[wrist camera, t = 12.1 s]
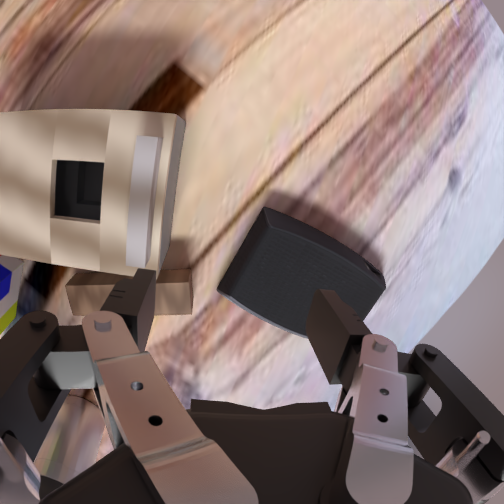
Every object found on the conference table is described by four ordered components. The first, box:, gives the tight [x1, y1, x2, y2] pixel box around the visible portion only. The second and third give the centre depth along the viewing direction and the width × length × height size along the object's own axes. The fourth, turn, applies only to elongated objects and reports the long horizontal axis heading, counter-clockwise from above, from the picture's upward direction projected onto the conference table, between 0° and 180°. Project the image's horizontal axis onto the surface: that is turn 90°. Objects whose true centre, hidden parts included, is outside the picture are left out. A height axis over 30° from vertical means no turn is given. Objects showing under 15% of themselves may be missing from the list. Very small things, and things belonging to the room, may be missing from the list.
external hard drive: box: [217, 207, 386, 339], centre depth 37 cm, size 13×19×4 cm
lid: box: [0, 109, 178, 280], centre depth 22 cm, size 14×22×3 cm, turn 80°
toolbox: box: [55, 116, 186, 273], centre depth 27 cm, size 14×22×8 cm, turn 80°
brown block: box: [65, 269, 193, 316], centre depth 35 cm, size 4×4×15 cm
